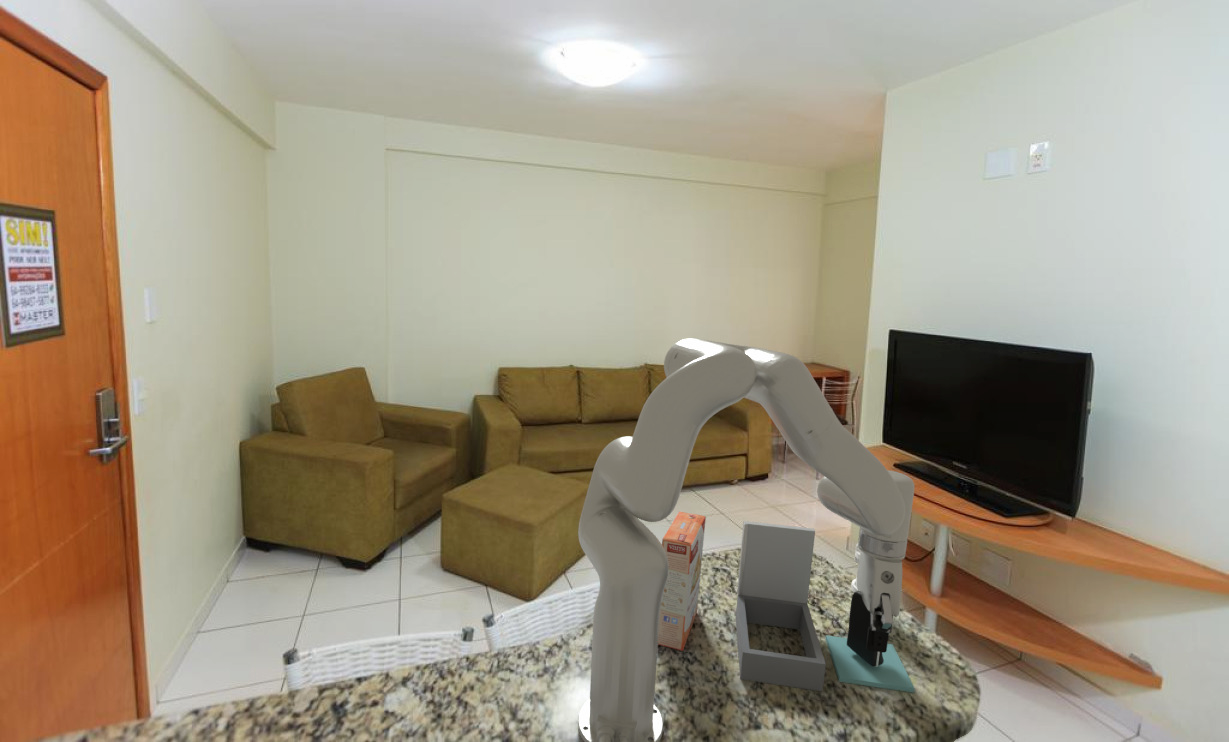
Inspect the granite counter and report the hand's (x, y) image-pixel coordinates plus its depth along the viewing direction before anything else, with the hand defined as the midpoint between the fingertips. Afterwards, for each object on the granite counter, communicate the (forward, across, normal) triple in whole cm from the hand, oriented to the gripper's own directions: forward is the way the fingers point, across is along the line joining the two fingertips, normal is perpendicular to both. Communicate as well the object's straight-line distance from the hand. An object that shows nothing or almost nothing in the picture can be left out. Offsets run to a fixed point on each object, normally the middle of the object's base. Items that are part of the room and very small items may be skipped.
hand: (869, 635), depth 102 cm
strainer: (+6, +16, -4) cm, 18 cm away
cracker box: (+6, +3, +34) cm, 34 cm away
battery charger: (+4, 0, 0) cm, 4 cm away
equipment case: (+6, 0, +16) cm, 17 cm away
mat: (+6, 0, 0) cm, 6 cm away
